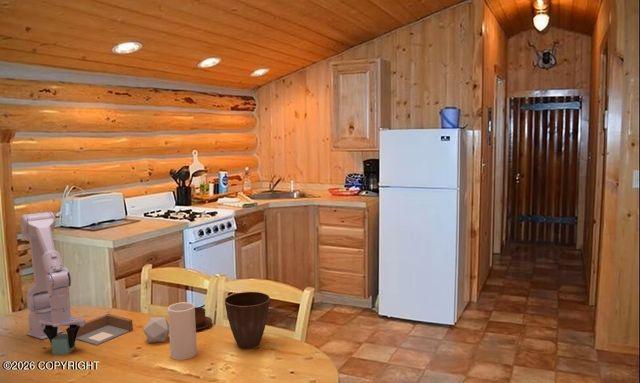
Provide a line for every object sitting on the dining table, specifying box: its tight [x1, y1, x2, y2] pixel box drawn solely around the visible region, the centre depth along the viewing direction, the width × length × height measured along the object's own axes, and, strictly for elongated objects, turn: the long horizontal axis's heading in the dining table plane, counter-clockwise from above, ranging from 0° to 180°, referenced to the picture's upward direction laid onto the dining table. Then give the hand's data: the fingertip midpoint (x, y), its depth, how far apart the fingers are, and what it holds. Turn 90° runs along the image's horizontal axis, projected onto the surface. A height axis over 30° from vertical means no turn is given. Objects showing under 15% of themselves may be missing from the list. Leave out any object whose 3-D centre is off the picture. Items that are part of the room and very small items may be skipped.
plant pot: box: [224, 291, 271, 350], centre depth 173 cm, size 15×15×16 cm
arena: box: [76, 313, 134, 346], centre depth 184 cm, size 13×15×4 cm
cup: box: [167, 301, 198, 361], centre depth 166 cm, size 8×8×16 cm
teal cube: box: [51, 333, 76, 355], centre depth 170 cm, size 5×5×5 cm
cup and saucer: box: [195, 306, 213, 331], centre depth 190 cm, size 12×12×6 cm
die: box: [142, 316, 169, 343], centre depth 178 cm, size 8×9×10 cm
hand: (63, 346), depth 170 cm, fingers closed on teal cube, 5 cm apart
